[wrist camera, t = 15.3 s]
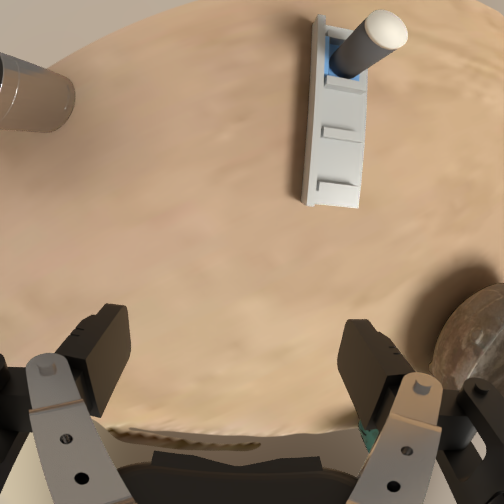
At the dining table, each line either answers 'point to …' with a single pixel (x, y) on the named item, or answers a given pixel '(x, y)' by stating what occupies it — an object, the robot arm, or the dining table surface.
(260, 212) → the dining table surface
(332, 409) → the dining table surface
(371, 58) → the gray cylinder
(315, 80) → the grey slotted rack
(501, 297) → the bowl
